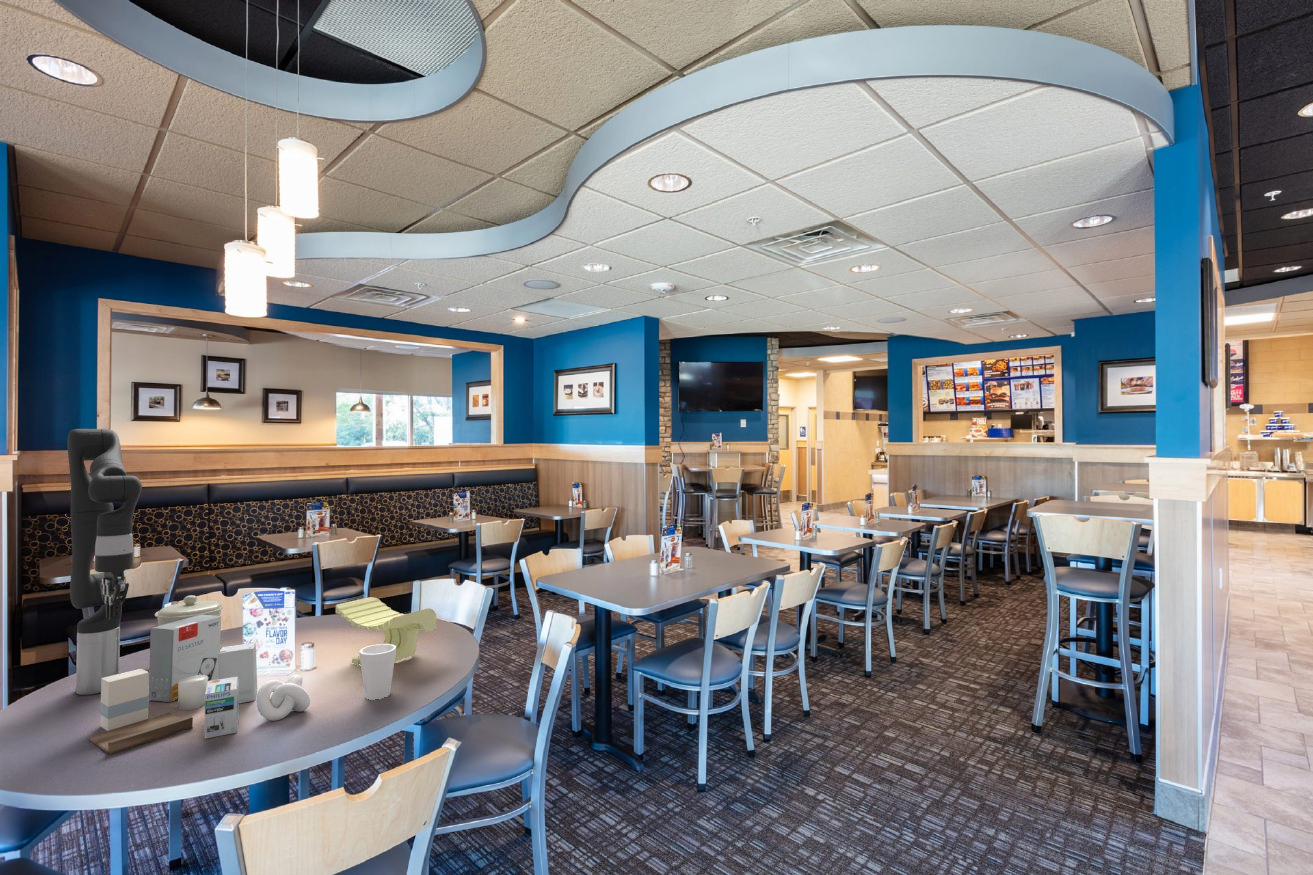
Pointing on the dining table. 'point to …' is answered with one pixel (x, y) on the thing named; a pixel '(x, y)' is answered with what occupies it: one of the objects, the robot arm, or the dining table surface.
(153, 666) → the hard drive box
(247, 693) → the skincare box
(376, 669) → the foam cup
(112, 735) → the walnut display plinth
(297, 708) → the white knot sculpture
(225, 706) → the light bulb box
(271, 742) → the dining table surface
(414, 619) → the slatted curved stool
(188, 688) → the white cylinder
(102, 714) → the cream carton
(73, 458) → the robot arm
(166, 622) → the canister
